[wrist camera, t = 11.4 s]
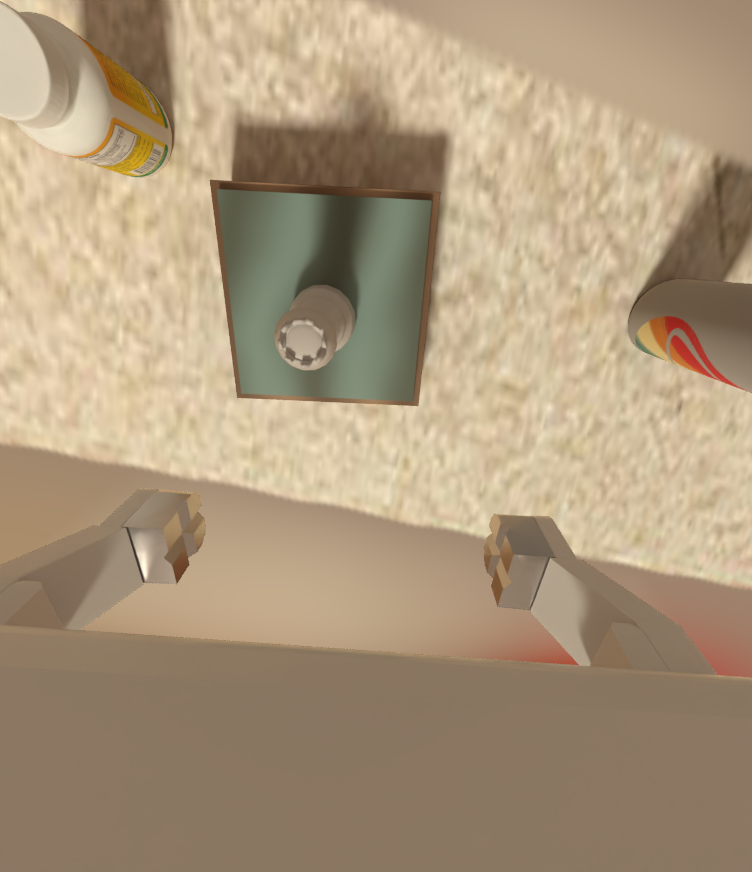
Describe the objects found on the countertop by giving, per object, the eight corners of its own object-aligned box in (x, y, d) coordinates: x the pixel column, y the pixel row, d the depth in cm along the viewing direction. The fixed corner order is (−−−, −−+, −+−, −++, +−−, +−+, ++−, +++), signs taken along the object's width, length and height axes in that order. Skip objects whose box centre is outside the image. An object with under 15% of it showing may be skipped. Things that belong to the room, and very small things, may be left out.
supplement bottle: (175, 188, 26) (73, 156, 17) (94, 166, 25) (-53, 122, 17) (175, 89, 23) (57, -5, 15) (86, 63, 23) (-90, -51, 14)
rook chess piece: (318, 362, 27) (297, 402, 20) (277, 310, 25) (238, 332, 18) (368, 326, 26) (365, 355, 19) (329, 269, 24) (308, 275, 17)
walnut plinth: (432, 199, 26) (441, 191, 22) (414, 390, 32) (418, 407, 29) (230, 189, 26) (207, 178, 22) (251, 383, 32) (235, 399, 28)
